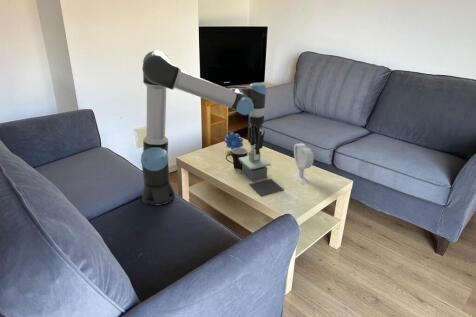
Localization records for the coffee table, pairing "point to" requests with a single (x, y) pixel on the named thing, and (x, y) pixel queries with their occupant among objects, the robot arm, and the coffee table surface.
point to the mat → (266, 187)
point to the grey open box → (254, 173)
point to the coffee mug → (237, 157)
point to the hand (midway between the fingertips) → (254, 157)
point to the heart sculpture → (302, 161)
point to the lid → (254, 161)
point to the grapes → (233, 141)
